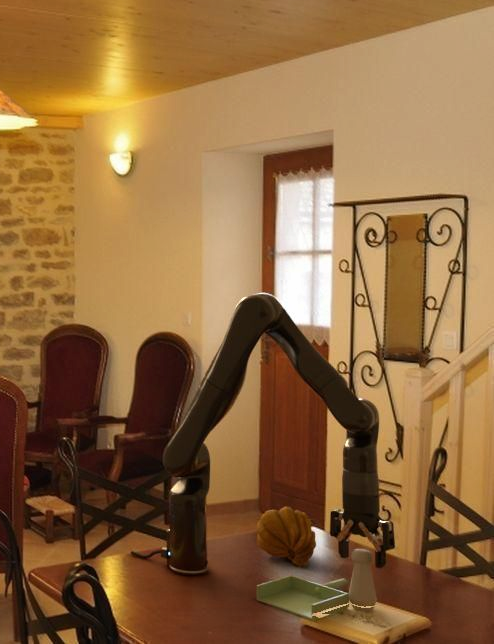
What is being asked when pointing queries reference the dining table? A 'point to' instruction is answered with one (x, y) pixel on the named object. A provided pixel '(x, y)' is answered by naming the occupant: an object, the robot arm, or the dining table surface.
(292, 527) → the pumpkin
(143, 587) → the dining table surface
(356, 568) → the salt shaker
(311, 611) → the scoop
